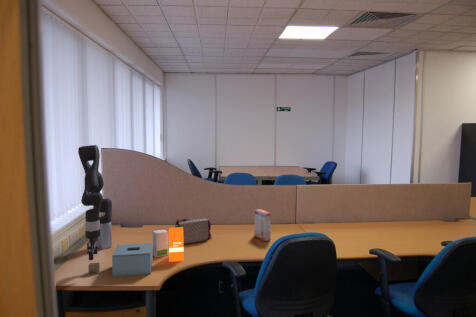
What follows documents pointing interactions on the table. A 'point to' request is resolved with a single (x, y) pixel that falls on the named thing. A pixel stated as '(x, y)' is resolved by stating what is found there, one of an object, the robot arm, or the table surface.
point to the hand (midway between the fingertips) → (93, 257)
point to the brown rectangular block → (94, 268)
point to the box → (132, 259)
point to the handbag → (195, 230)
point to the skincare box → (160, 243)
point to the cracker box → (262, 224)
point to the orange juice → (176, 244)
